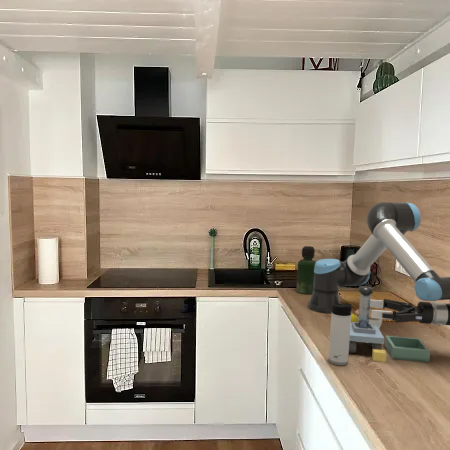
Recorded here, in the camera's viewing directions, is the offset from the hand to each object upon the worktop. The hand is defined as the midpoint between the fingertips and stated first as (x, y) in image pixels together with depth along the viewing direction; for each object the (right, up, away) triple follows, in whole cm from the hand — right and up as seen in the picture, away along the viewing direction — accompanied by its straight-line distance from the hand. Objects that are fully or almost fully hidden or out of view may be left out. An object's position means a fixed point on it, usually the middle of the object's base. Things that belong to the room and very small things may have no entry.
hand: (367, 308), depth 152 cm
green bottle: (-7, -7, +81) cm, 81 cm away
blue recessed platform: (-2, -15, +2) cm, 15 cm away
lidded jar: (+7, -14, +21) cm, 26 cm away
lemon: (-1, -14, +19) cm, 24 cm away
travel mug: (-13, -16, -10) cm, 23 cm away
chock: (+1, -16, -7) cm, 18 cm away
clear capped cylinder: (-1, -8, +2) cm, 8 cm away
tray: (+13, -16, -1) cm, 21 cm away
